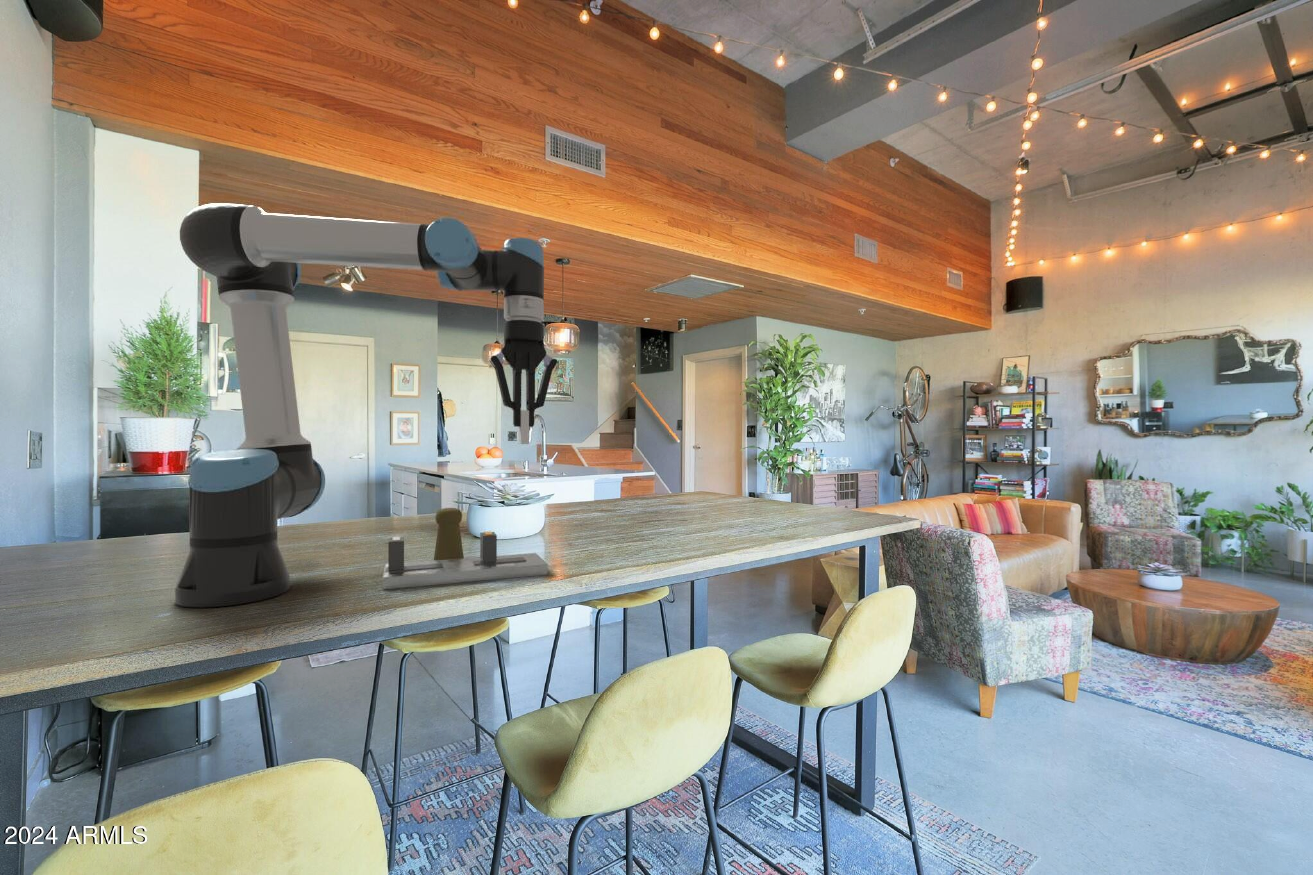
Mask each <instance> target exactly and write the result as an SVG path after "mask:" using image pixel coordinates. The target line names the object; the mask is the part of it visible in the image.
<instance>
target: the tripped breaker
mask: <svg viewBox="0 0 1313 875" xmlns="http://www.w3.org/2000/svg"><path fill="white" fill-rule="evenodd" d="M479 536H480V538H479V543H480V548H479V551H480V552H479V557H480V559H481V561H482V563H489V562H497V556H498V555H497V554H498V552H497V551H498V550H497V546H498V545H497V544H498V543H497V542H498V538H497V537H498V536H497V534H496V533H495V532H494V531H491V530H490V531H483V532H480V534H479Z"/></svg>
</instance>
